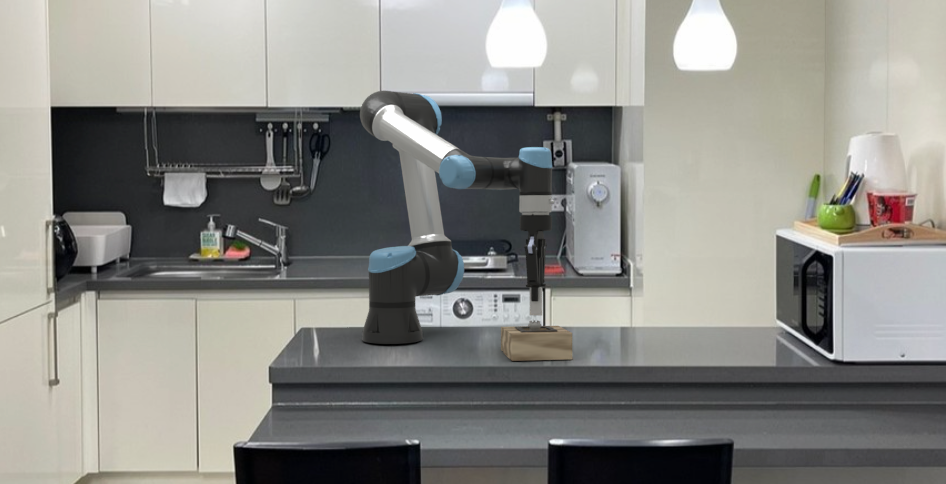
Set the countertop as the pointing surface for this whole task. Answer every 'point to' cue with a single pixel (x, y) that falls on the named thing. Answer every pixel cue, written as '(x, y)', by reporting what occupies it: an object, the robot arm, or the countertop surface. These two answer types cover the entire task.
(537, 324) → the rook chess piece
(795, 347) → the countertop surface
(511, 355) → the socket block
